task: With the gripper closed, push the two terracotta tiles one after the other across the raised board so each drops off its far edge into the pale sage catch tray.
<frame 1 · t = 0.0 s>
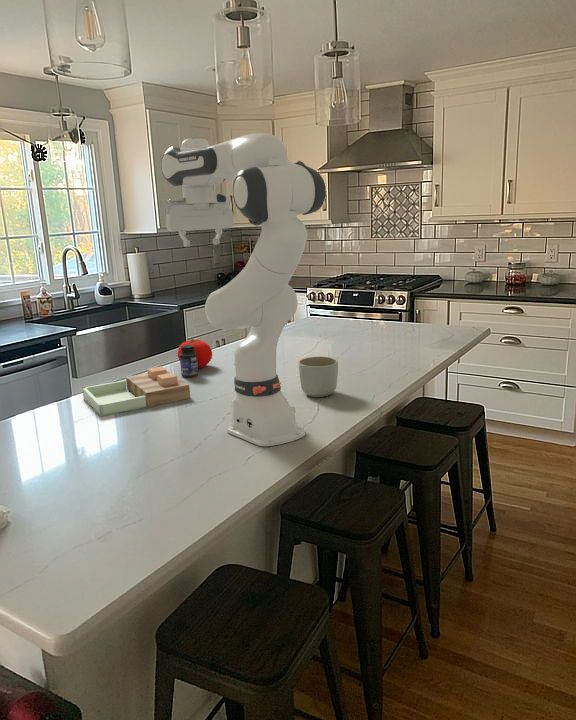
hand: (201, 245, 177), 48 cm above the counter, fingers open, 8 cm apart
pill bottle: (189, 376, 216), on the counter
tomato: (195, 368, 226), on the counter
board: (157, 393, 195), on the counter
tray: (114, 402, 188), on the counter
tile 2: (157, 376, 199), point 4 cm above the counter, touching board
tile 1: (167, 383, 191), point 4 cm above the counter, touching board
planter: (319, 394, 189), on the counter
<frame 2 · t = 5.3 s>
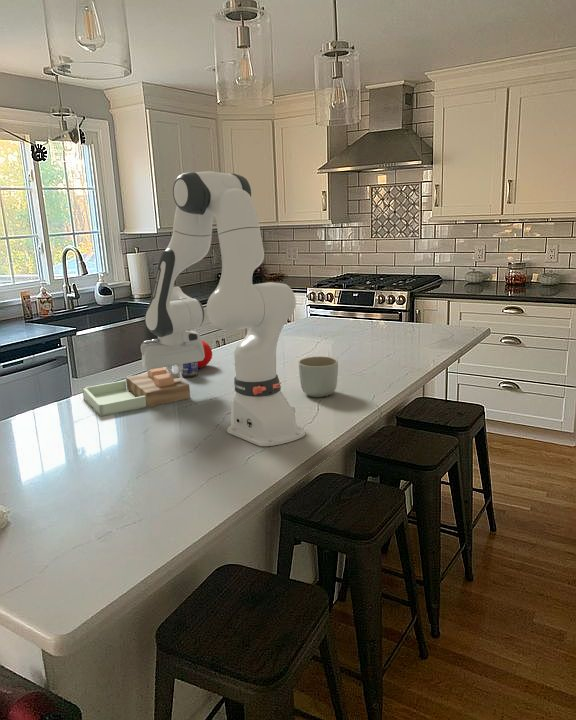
hand: (175, 378, 192), 6 cm above the counter, fingers closed
tile 1: (164, 383, 191), point 5 cm above the counter, touching gripper
everything else where it was.
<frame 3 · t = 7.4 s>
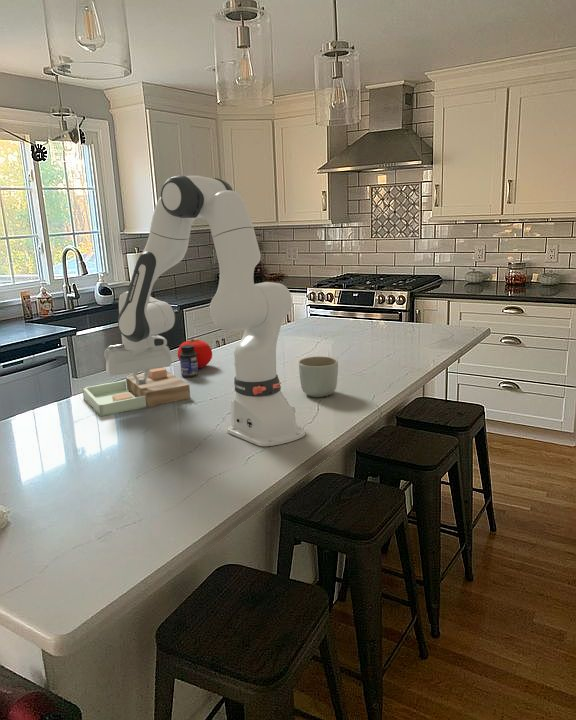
hand: (141, 384, 187), 6 cm above the counter, fingers closed
tile 1: (122, 396, 184), point 3 cm above the counter, tilted 180°, touching tray
everything else where it was.
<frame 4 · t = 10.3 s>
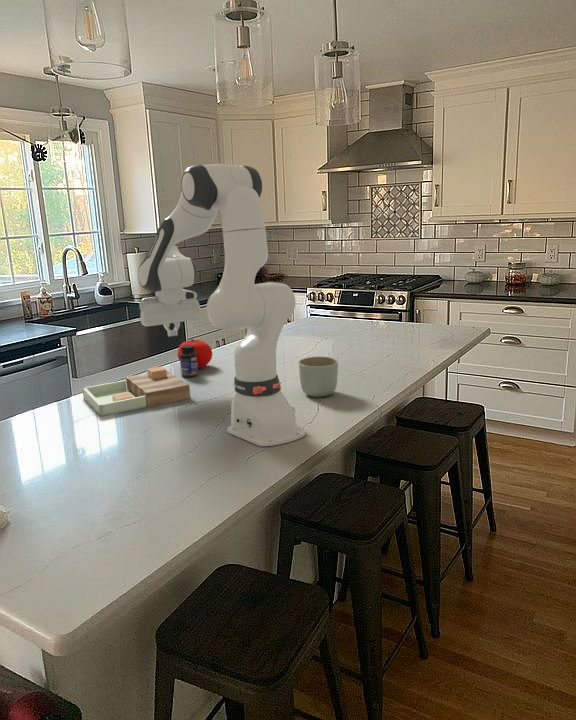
hand: (172, 335, 199), 18 cm above the counter, fingers closed
nothing on the counter moved.
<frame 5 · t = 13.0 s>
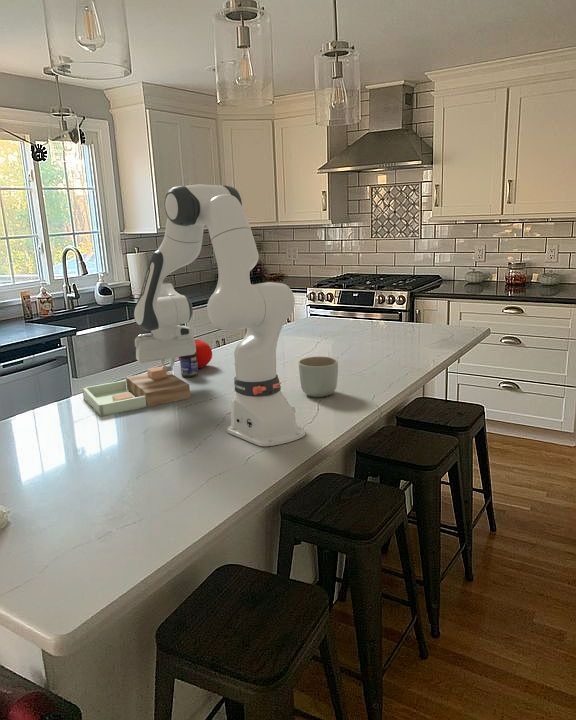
hand: (168, 370, 201), 6 cm above the counter, fingers closed
tile 2: (157, 376, 199), point 5 cm above the counter, touching gripper
everything else where it was.
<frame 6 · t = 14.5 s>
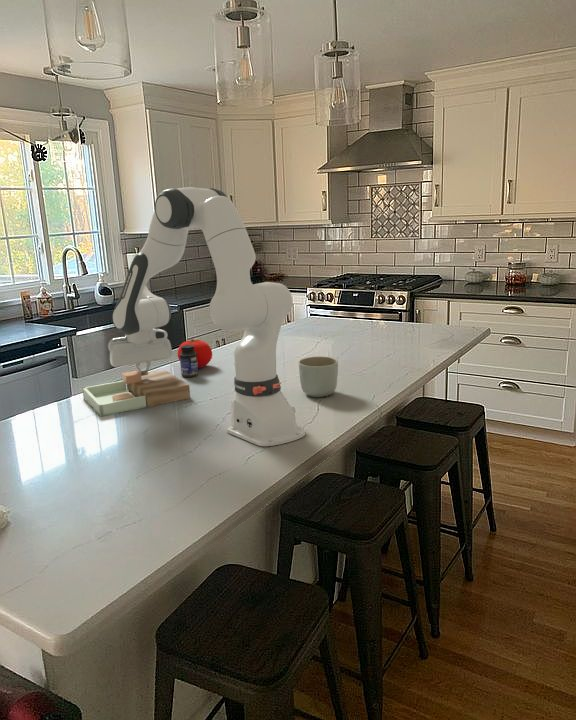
hand: (143, 375, 197), 6 cm above the counter, fingers closed
tile 2: (132, 380, 195), point 5 cm above the counter, touching board
everything else where it was.
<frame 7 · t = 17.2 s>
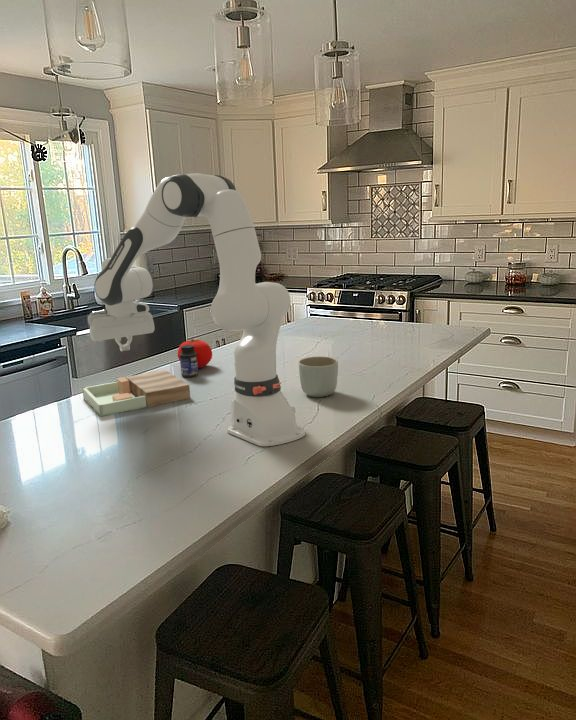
hand: (125, 350, 192), 15 cm above the counter, fingers closed
tile 2: (127, 386, 195), point 3 cm above the counter, tilted 90°, touching tray
everything else where it was.
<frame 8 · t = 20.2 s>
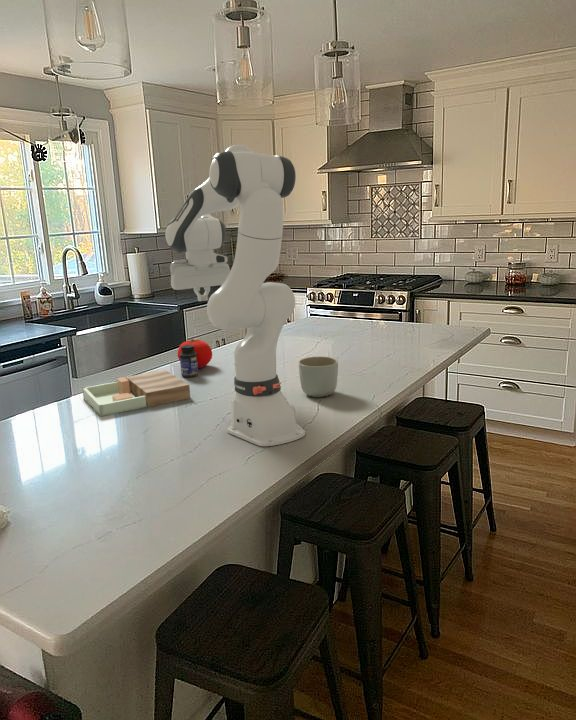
hand: (202, 300, 196), 29 cm above the counter, fingers closed
nothing on the counter moved.
at the end: tile 1 inside the target area on the tray (5.0 cm from its centre), point 3.0 cm above the tray's base; tile 2 inside the target area on the tray (8.0 cm from its centre), point 3.0 cm above the tray's base; tile 1 touching tray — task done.
